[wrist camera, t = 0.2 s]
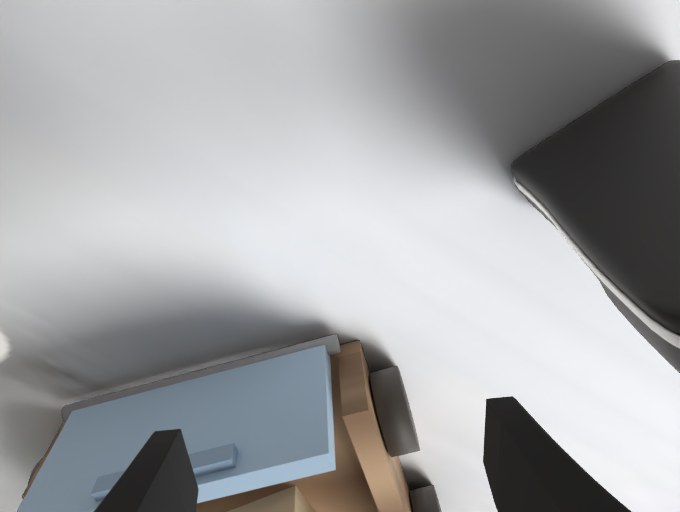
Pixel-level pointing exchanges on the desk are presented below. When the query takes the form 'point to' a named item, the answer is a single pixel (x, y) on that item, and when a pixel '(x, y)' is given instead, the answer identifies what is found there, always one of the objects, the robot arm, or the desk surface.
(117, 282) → the desk surface
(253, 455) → the panel
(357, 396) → the truck bed
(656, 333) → the battery charger
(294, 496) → the block
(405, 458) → the desk surface
